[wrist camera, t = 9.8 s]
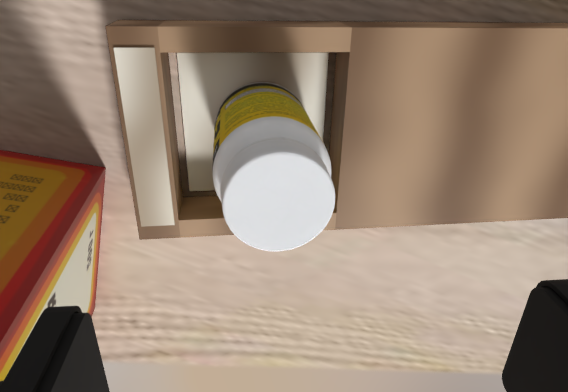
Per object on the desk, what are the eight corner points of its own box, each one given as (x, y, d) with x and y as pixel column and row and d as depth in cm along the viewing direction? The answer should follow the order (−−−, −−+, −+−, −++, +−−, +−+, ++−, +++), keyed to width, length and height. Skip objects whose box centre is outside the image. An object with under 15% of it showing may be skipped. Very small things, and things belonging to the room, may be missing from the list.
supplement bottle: (200, 97, 21) (187, 164, 14) (291, 66, 21) (328, 118, 14) (233, 181, 24) (238, 277, 16) (316, 153, 23) (359, 237, 16)
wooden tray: (606, 23, 22) (650, 29, 20) (548, 196, 27) (578, 218, 24) (118, 19, 19) (104, 26, 17) (147, 214, 24) (139, 240, 22)
